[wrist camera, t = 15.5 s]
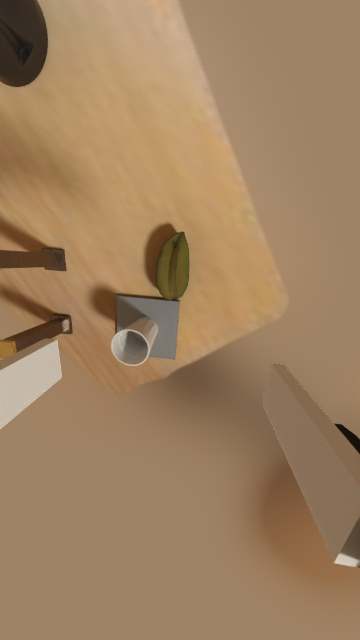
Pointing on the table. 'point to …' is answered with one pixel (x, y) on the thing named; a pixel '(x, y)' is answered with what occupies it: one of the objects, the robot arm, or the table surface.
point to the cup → (134, 342)
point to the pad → (158, 311)
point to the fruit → (173, 267)
